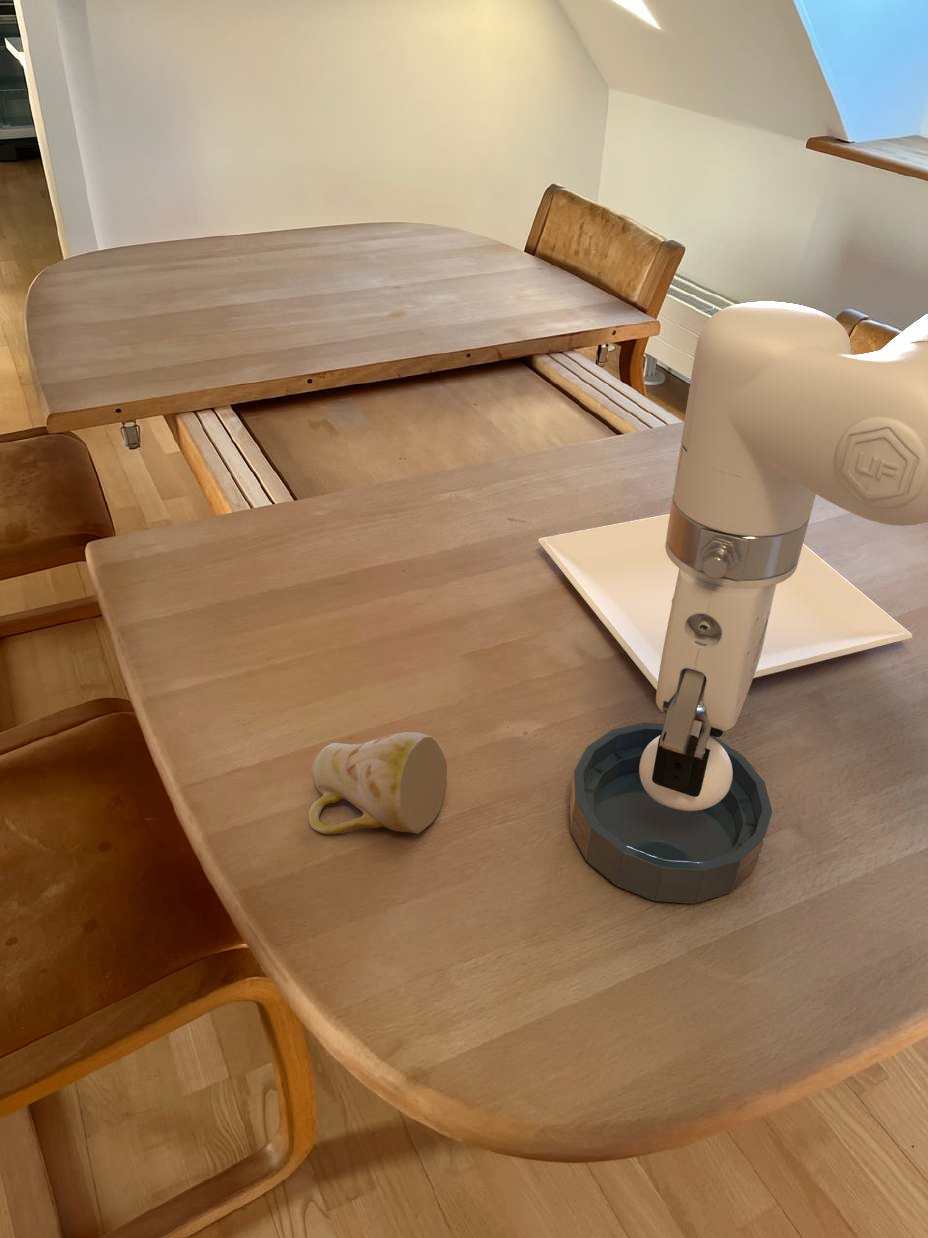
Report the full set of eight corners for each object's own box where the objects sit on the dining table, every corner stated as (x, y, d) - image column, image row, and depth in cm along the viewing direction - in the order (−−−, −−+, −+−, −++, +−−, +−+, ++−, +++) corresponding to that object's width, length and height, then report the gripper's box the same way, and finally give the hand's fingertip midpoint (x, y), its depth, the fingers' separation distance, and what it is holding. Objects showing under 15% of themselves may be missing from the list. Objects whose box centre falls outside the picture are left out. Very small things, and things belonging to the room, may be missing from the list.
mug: (331, 751, 75) (392, 672, 69) (418, 838, 73) (487, 764, 68) (273, 796, 69) (335, 712, 63) (367, 891, 67) (438, 814, 62)
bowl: (775, 796, 72) (787, 760, 69) (733, 937, 62) (746, 900, 60) (605, 737, 76) (610, 701, 74) (541, 860, 67) (545, 823, 64)
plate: (746, 512, 106) (750, 496, 104) (908, 652, 86) (915, 634, 85) (535, 553, 98) (536, 536, 97) (661, 716, 79) (665, 698, 77)
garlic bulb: (676, 834, 63) (694, 748, 58) (618, 775, 67) (631, 690, 62) (746, 798, 65) (769, 713, 60) (686, 743, 69) (703, 660, 65)
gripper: (771, 630, 46) (711, 868, 57) (826, 480, 58) (768, 699, 69) (624, 591, 49) (594, 825, 59) (707, 456, 61) (669, 670, 72)
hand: (688, 755), depth 64 cm, fingers closed on garlic bulb, 5 cm apart
